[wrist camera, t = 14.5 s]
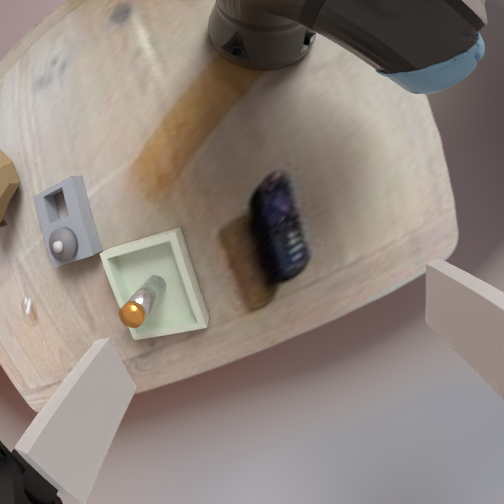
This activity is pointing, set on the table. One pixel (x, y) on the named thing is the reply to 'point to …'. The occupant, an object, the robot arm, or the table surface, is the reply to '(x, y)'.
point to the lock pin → (142, 302)
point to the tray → (171, 270)
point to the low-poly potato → (6, 184)
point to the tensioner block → (67, 223)
